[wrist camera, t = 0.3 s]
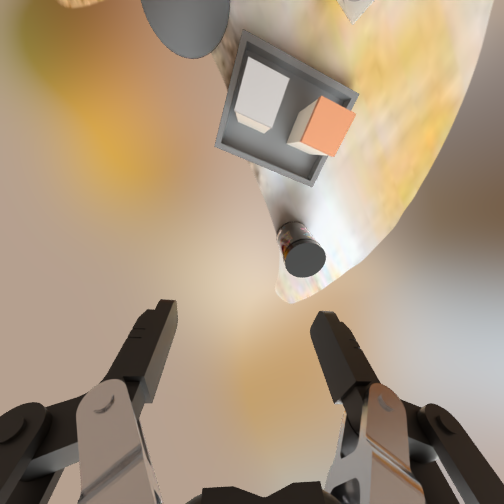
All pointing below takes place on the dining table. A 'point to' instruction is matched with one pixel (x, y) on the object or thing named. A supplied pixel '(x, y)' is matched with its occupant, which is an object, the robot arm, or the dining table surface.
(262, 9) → the dining table surface
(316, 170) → the parts tray
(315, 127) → the rust lid box
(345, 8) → the skincare box
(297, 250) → the supplement container
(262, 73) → the white lid box
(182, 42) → the slate mat
